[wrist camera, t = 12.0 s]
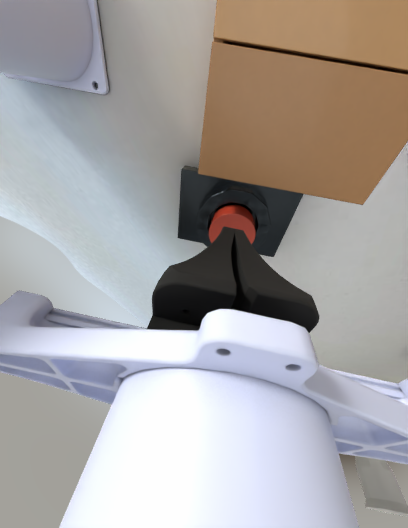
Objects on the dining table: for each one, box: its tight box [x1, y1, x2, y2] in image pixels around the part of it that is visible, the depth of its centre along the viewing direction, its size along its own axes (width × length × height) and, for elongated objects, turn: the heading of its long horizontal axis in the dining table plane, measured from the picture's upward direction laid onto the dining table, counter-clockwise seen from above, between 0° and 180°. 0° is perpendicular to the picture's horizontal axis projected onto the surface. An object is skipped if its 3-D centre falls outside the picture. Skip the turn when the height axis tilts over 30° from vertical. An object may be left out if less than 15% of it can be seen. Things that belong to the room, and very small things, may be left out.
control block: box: [178, 166, 303, 257], centre depth 21 cm, size 12×8×4 cm, turn 82°
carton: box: [198, 39, 408, 205], centre depth 12 cm, size 12×11×8 cm
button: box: [209, 205, 256, 244], centre depth 19 cm, size 4×4×2 cm
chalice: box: [355, 456, 408, 516], centre depth 40 cm, size 7×7×18 cm
